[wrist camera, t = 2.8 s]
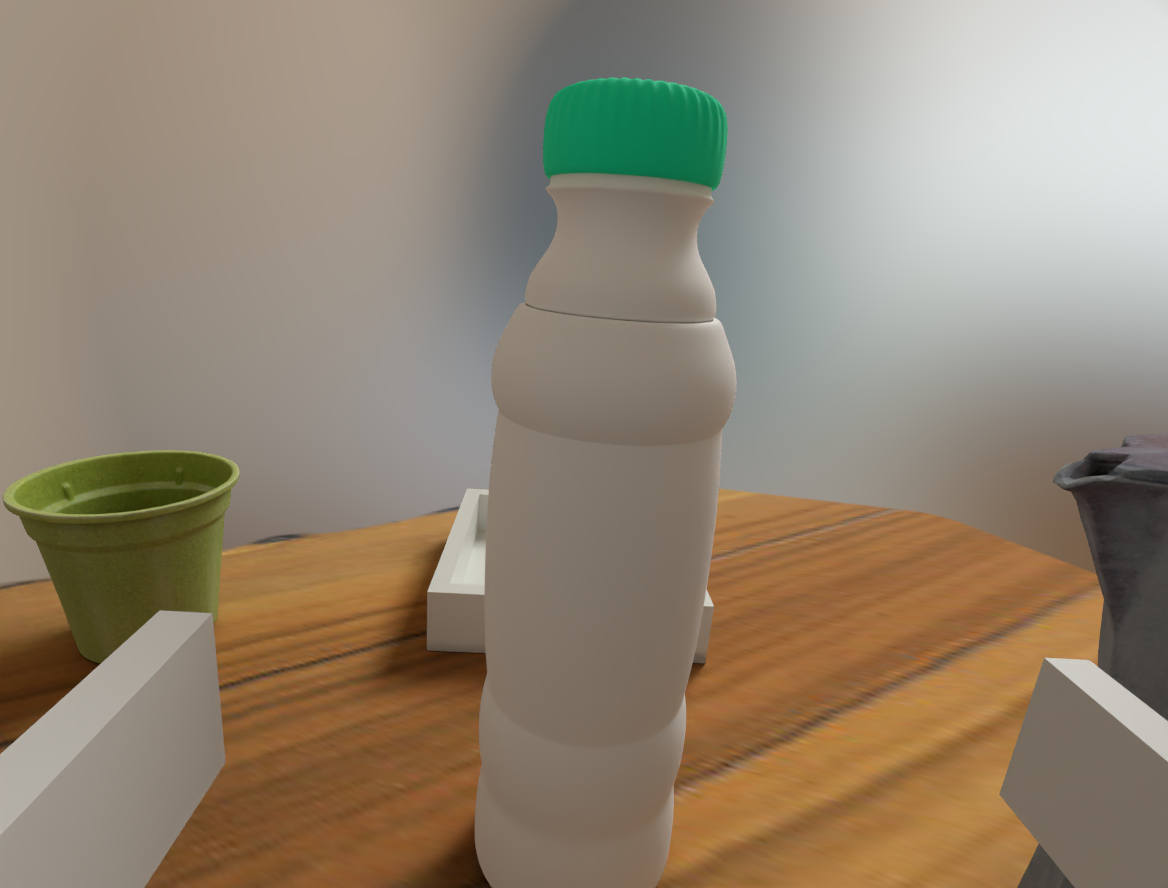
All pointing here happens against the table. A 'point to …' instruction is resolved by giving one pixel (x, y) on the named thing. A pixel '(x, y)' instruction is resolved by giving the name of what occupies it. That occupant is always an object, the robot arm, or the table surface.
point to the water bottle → (603, 495)
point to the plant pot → (128, 538)
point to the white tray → (482, 586)
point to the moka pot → (1124, 577)
